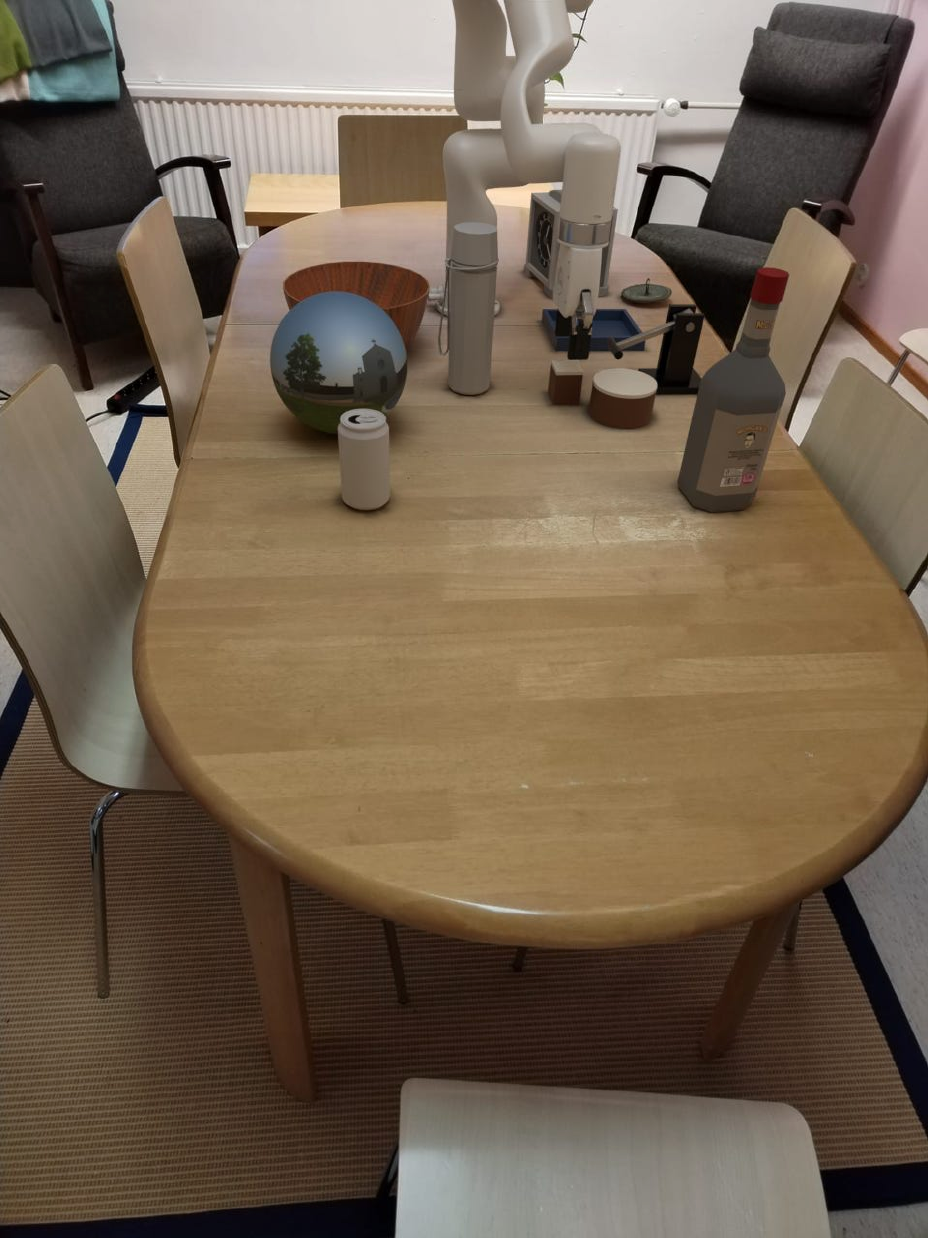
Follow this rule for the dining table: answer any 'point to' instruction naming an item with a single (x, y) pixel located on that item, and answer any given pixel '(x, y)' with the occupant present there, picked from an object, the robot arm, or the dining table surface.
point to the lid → (646, 293)
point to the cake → (622, 398)
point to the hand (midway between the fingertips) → (570, 347)
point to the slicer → (678, 353)
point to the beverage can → (364, 458)
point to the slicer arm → (640, 337)
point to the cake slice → (565, 382)
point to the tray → (597, 329)
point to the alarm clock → (555, 241)
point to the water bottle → (470, 307)
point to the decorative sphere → (337, 359)
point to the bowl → (367, 289)
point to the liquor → (737, 410)
